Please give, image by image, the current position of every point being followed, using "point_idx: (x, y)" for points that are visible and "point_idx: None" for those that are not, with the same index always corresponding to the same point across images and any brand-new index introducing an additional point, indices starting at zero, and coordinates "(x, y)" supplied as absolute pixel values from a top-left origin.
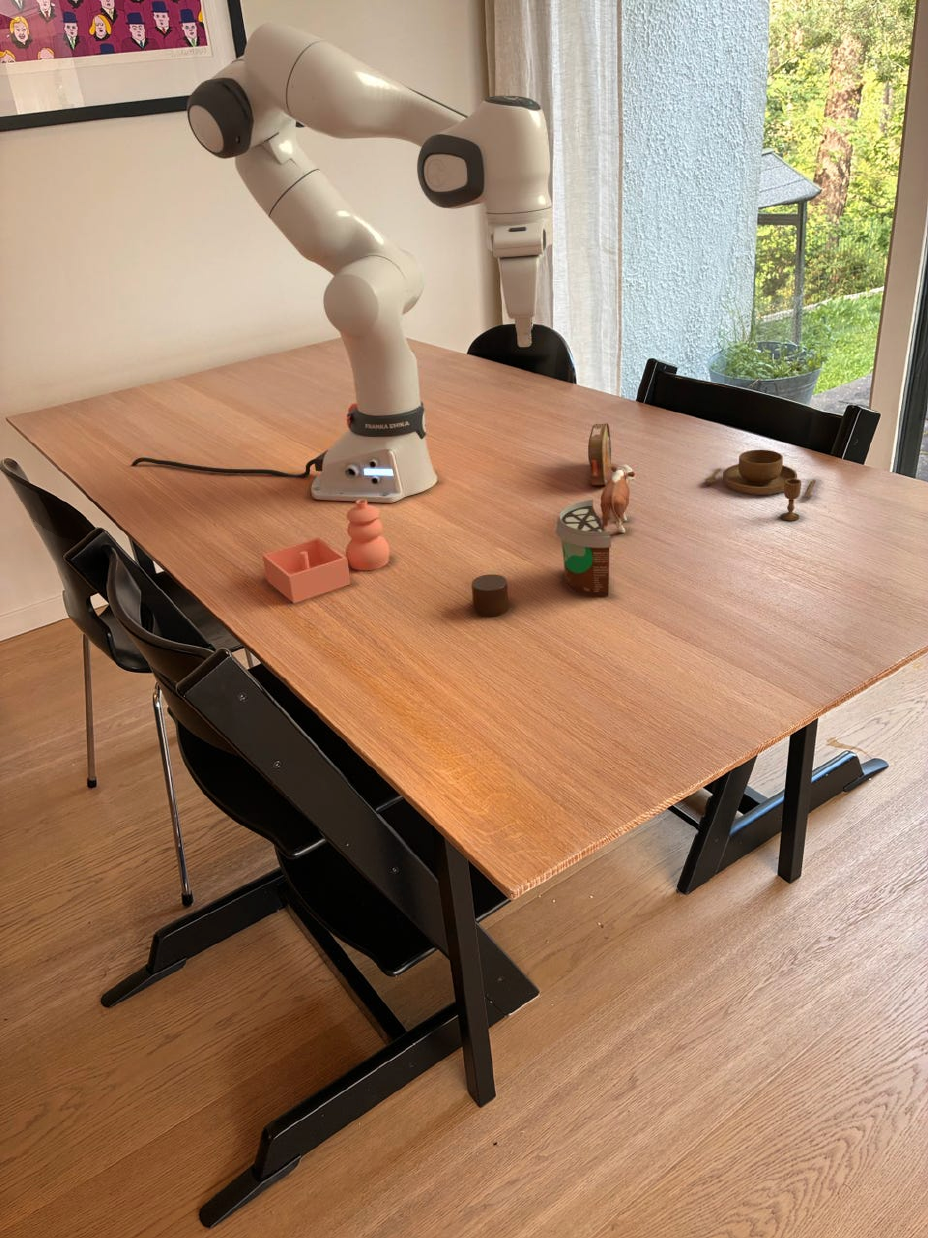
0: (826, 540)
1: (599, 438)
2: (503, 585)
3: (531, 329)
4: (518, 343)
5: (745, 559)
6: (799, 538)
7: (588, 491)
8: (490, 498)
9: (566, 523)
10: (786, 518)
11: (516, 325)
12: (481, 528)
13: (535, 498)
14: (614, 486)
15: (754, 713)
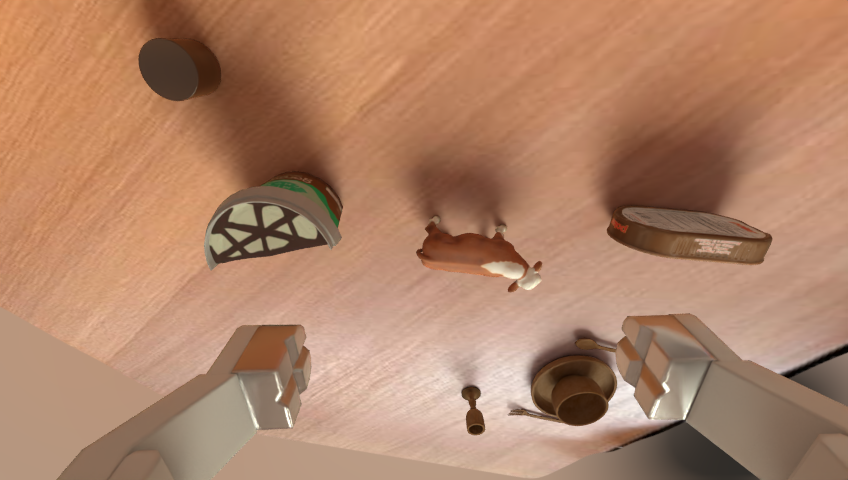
0: (414, 409)
1: (675, 251)
2: (163, 95)
3: (616, 361)
4: (232, 335)
5: (370, 349)
6: (419, 393)
7: (606, 199)
8: (627, 25)
9: (255, 207)
10: (464, 391)
11: (117, 434)
12: (486, 20)
13: (601, 115)
14: (465, 264)
15: (75, 326)
